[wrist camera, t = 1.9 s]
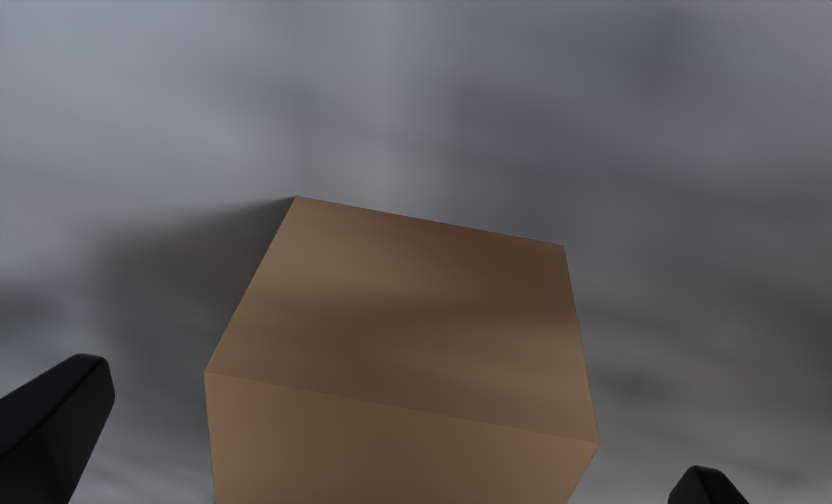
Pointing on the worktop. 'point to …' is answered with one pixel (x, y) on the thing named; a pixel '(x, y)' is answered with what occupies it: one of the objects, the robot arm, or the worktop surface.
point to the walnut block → (400, 368)
